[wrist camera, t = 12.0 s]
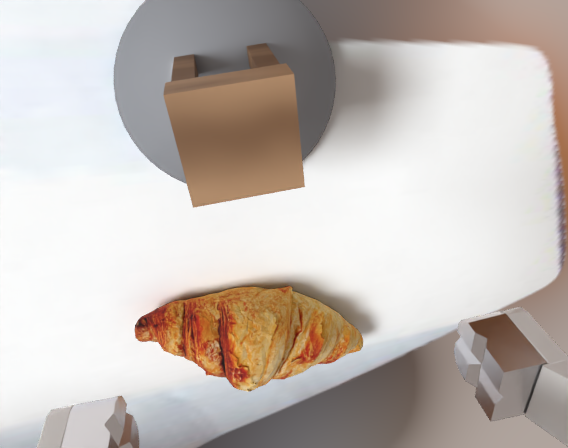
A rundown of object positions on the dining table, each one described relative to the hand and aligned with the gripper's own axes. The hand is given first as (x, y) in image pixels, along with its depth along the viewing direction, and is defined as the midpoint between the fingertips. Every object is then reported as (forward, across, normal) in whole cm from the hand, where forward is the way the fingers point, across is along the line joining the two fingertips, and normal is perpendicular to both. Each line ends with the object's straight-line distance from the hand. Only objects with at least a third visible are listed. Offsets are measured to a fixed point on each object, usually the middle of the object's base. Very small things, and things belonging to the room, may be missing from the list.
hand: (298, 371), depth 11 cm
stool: (+22, 0, 0) cm, 22 cm away
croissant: (+23, -1, -21) cm, 32 cm away
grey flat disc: (+23, 0, 0) cm, 23 cm away
